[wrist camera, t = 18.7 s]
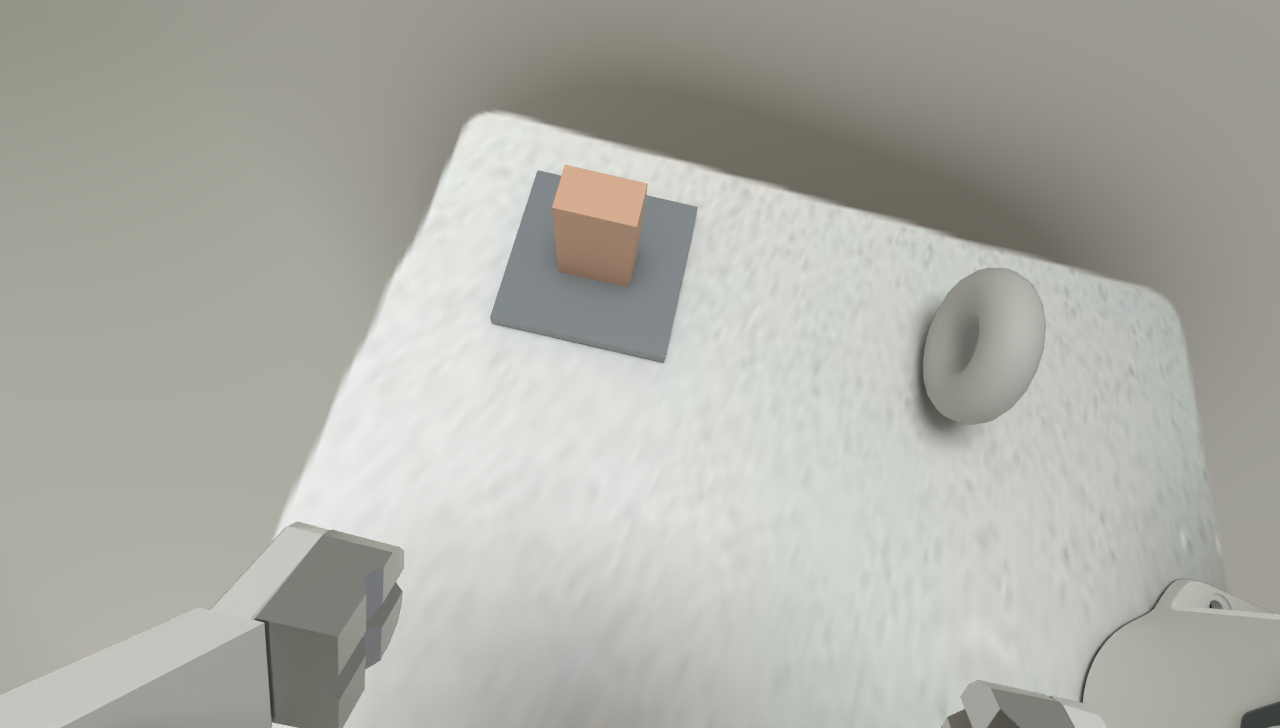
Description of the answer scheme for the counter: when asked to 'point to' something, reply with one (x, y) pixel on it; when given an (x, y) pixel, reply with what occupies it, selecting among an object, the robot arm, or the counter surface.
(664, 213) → the coaster
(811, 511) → the counter surface
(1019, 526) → the counter surface
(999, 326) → the donut
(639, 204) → the block
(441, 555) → the counter surface
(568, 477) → the counter surface
